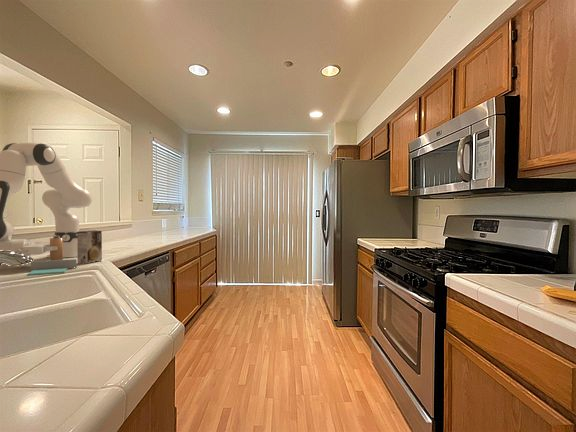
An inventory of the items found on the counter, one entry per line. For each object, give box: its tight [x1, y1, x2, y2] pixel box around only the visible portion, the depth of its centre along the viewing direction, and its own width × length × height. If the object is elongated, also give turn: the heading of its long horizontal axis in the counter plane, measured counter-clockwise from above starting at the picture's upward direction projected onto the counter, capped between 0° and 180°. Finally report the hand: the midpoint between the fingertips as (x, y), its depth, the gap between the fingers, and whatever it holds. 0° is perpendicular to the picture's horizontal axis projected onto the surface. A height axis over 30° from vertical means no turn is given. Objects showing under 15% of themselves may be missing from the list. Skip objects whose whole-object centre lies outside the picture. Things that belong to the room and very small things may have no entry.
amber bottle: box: [49, 235, 64, 261], centre depth 144 cm, size 5×5×14 cm
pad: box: [27, 268, 68, 276], centre depth 129 cm, size 9×12×1 cm
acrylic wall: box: [30, 258, 77, 272], centre depth 135 cm, size 1×16×4 cm, turn 119°
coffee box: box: [76, 229, 103, 264], centre depth 155 cm, size 9×6×16 cm
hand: (58, 247), depth 145 cm, fingers closed on amber bottle, 5 cm apart
